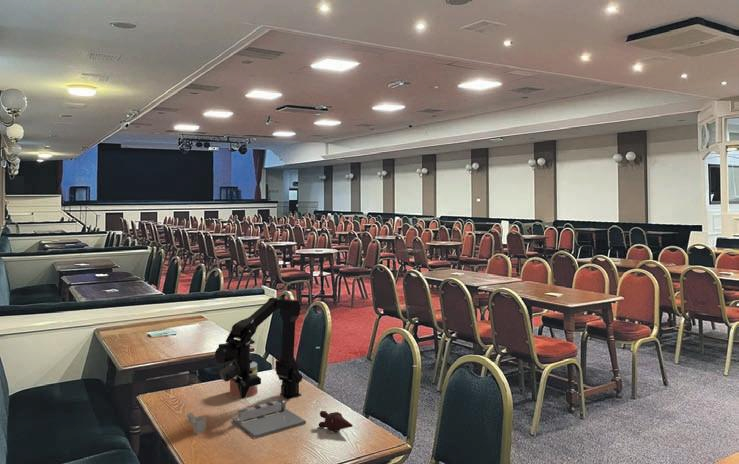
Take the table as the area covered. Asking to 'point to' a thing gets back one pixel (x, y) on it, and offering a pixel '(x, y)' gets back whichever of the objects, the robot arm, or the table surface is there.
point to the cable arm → (261, 409)
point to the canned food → (252, 390)
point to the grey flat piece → (197, 423)
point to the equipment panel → (270, 423)
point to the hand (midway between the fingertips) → (242, 398)
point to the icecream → (334, 421)
